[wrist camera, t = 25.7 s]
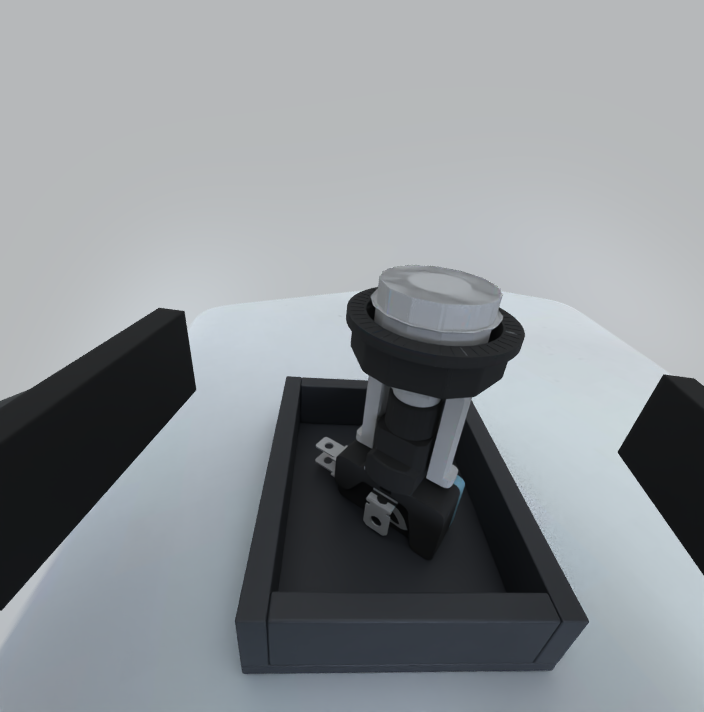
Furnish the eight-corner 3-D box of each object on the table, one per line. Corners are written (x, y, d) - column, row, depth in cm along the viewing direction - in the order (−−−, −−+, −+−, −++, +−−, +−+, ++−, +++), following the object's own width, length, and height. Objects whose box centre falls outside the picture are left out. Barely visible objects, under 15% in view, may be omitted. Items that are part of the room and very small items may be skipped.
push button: (280, 499, 16) (276, 268, 11) (352, 434, 20) (373, 243, 15) (422, 602, 13) (507, 342, 8) (473, 500, 17) (551, 285, 12)
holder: (241, 674, 11) (234, 622, 9) (286, 420, 21) (286, 376, 20) (552, 671, 12) (590, 622, 10) (451, 427, 22) (463, 384, 20)
